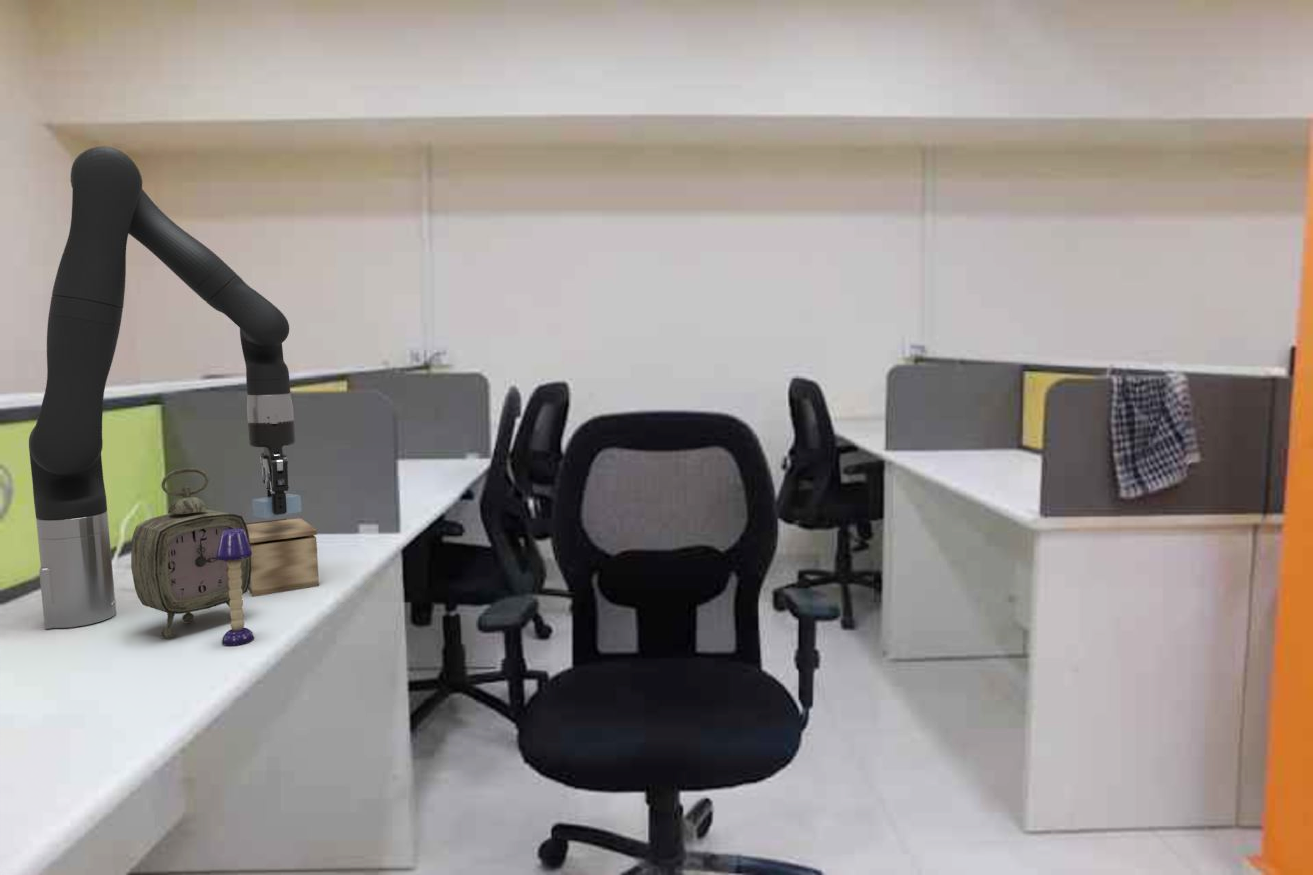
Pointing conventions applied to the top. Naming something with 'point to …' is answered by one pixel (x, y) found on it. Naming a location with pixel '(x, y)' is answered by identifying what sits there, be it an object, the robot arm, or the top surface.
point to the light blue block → (265, 508)
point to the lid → (279, 530)
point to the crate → (283, 565)
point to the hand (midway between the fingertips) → (277, 511)
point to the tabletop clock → (184, 556)
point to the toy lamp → (235, 582)
